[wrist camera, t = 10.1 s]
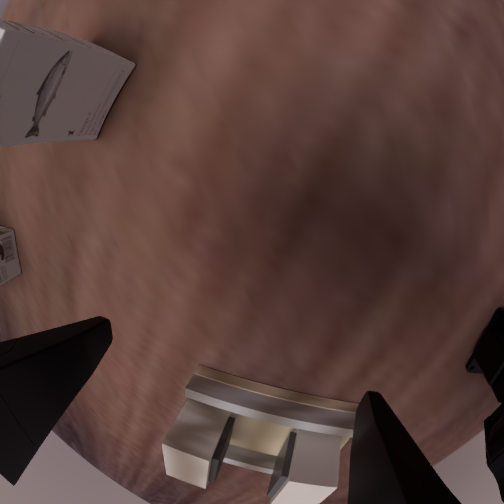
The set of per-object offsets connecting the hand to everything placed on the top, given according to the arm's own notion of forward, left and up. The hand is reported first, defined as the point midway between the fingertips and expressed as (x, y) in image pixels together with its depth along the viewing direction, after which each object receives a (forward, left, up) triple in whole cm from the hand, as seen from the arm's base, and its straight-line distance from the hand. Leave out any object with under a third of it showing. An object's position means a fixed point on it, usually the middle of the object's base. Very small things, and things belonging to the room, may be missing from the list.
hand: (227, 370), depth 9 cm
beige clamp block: (-3, +19, -12) cm, 22 cm away
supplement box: (+18, -10, -12) cm, 24 cm away
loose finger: (-7, +18, -11) cm, 23 cm away
